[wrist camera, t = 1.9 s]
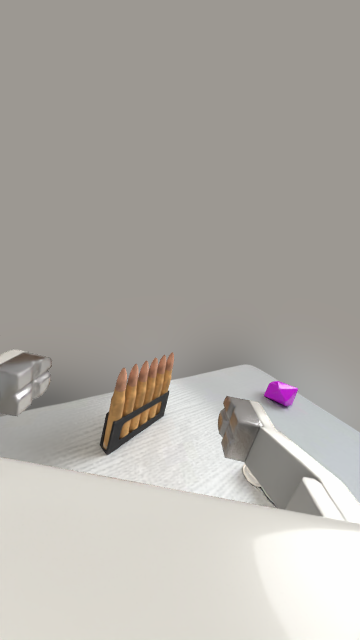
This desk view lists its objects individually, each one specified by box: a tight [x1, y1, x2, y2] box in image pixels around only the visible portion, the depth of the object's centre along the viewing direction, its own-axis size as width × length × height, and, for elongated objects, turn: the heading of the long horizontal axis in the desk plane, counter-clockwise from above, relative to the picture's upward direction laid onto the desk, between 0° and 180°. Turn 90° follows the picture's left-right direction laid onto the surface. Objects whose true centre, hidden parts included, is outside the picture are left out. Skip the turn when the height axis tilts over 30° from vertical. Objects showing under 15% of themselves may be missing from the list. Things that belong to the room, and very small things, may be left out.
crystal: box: [264, 381, 298, 406], centre depth 44 cm, size 5×5×5 cm
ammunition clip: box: [100, 353, 174, 454], centre depth 26 cm, size 11×2×12 cm, turn 142°
